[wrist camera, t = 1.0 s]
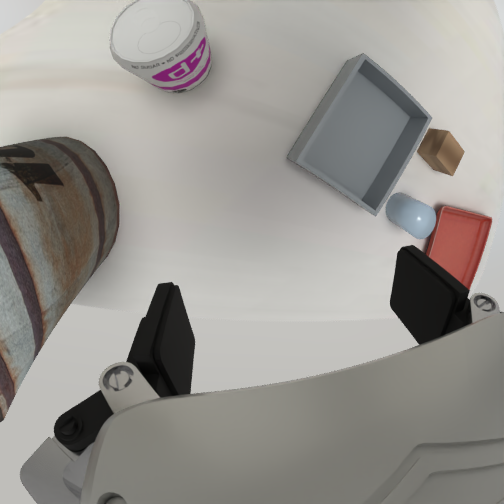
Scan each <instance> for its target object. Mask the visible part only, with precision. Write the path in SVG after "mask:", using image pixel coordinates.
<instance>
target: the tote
mask: <svg viewBox="0 0 504 504" xmlns="http://www.w3.org/2000/svg"><path fill="white" fill-rule="evenodd" d="M431 119H432V117H431V116H430V115H429V113H428V112H427V111H426V110H425V109H424V108H423V107H422V106H421V105H420V104H419V103H418V102H417V101H416V100H415V99H414V98H413V97H412V96H411V95H410V94H409V93H408V92H407V91H406V90H405V89H404V88H403V87H402V86H401V85H400V84H399V83H398V82H397V81H396V80H395V79H394V78H393V77H391V76H390V75H389V74H388V73H387V72H386V71H385V70H383V69H382V68H381V67H380V66H379V65H378V64H376V63H375V62H374V61H373V60H371V59H370V58H369V57H368V56H366V55H365V54H364V53H362V54H360V55H358V56H356V57H354V58H352V59H350V60H348V61H347V62H346V64H345V65H344V67H343V68H342V70H341V71H340V73H339V74H338V76H337V78H336V79H335V81H334V82H333V84H332V85H331V87H330V89H329V90H328V92H327V93H326V95H325V96H324V98H323V100H322V101H321V103H320V104H319V106H318V108H317V109H316V111H315V112H314V114H313V116H312V117H311V119H310V120H309V122H308V124H307V125H306V127H305V128H304V130H303V132H302V133H301V135H300V137H299V138H298V140H297V141H296V143H295V145H294V146H293V148H292V150H291V151H290V153H289V154H288V156H287V158H288V159H289V160H291V161H293V162H294V163H296V164H297V165H299V166H301V167H302V168H304V169H305V170H307V171H309V172H310V173H312V174H313V175H315V176H316V177H318V178H320V179H321V180H323V181H324V182H326V183H327V184H329V185H330V186H332V187H333V188H335V189H336V190H338V191H339V192H340V193H342V194H343V195H345V196H346V197H348V198H349V199H350V200H352V201H353V202H355V203H356V204H358V205H359V206H360V207H362V208H363V209H365V210H366V211H368V212H370V213H371V214H373V215H374V216H376V215H377V214H378V212H379V211H380V209H381V208H382V206H383V204H384V203H385V201H386V200H387V198H388V196H389V195H390V193H391V192H392V190H393V188H394V187H395V185H396V183H397V182H398V180H399V178H400V176H401V175H402V173H403V171H404V170H405V168H406V166H407V164H408V163H409V161H410V159H411V157H412V155H413V154H414V152H415V150H416V148H417V146H418V145H419V143H420V141H421V139H422V137H423V135H424V133H425V131H426V129H427V127H428V125H429V123H430V121H431Z"/></svg>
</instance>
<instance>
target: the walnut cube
mask: <svg viewBox="0 0 504 504" xmlns="http://www.w3.org/2000/svg"><path fill="white" fill-rule="evenodd" d="M417 153H418V154H419V155H420V156H421V157H422V158H423V159H424V160H425V161H426V162H427V163H428V164H429V165H430V166H431V167H432V169H433V170H436V171H439V172H442V173H445V174H448V175H451V176H453V175H454V173H455V171H456V169H457V167H458V165H459V163H460V161H461V158H462V156H463V154H464V150H463V149H462V148H461V146H460V145H459V143H458V142H457V141H456V140H455V138H454V137H453V136H452V134H451V133H450V132H449V131H445V130H438V129H430V128H429V129H428V131H427V133H426V135H425V137H424V139H423V141H422V143H421V145H420V147H419V148H418V150H417Z"/></svg>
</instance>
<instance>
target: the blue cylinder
mask: <svg viewBox="0 0 504 504" xmlns="http://www.w3.org/2000/svg"><path fill="white" fill-rule="evenodd" d="M386 215H387V217H388V219H389V220H390V221H392V222H393V223H395V224H396V225H398V226H399V227H401V228H402V229H404V230H405V231H406V232H408V233H409V234H411V235H412V236H414V237H415V238H417V239H424V238H426V237H428V236H429V235H430V234H431V232H432V231H433V229H434V227H435V224H436V214H435V211H434V209H433V208H432V207H430V206H428V205H426V204H424V203H422V202H420V201H418V200H416V199H414V198H412V197H410V196H408V195H406V194H403V193H396V194H394V195H392V196H391V197H390V199H389V200H388V202H387V205H386Z"/></svg>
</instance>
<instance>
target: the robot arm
mask: <svg viewBox="0 0 504 504" xmlns="http://www.w3.org/2000/svg"><path fill="white" fill-rule="evenodd" d="M469 291H470V290H469V289H468V288H467V287H465V286H464V285H463V284H462V283H461V282H460V281H458V280H457V279H456V278H455V277H454V276H452V275H451V274H450V273H449V272H447V271H446V270H445V269H444V268H443V267H441V266H440V265H439V264H437V263H436V262H435V261H434V260H432V259H431V258H430V257H428V256H427V255H426V254H425V253H423V252H422V251H421V250H419V249H418V248H417V247H415V246H413V245H411V246H405V247H402V248H401V249H400V251H398V253H397V260H396V268H395V274H394V281H393V287H392V293H391V298H390V306H391V309H392V310H393V311H394V312H395V314H396V315H397V316H398V318H399V319H400V320H401V321H402V323H403V324H404V325H405V326H406V328H407V329H408V330H409V332H410V333H411V334H412V335H413V337H414V338H415V340H416V341H417V342H418V344H419V345H418V346H415V347H413V348H410V349H407V350H404V351H401V352H398V353H396V354H392V355H389V356H386V357H383V358H380V359H377V360H373V361H370V362H367V363H363V364H359V365H356V366H352V367H349V368H345V369H341V370H337V371H333V372H329V373H324V374H320V375H316V376H311V377H307V378H301V379H297V380H291V381H286V382H281V383H275V384H269V385H262V386H255V387H248V388H241V389H233V390H224V391H215V392H206V393H196V394H190V392H191V380H192V369H193V358H194V349H195V338H194V334H193V332H192V328H191V325H190V322H189V319H188V316H187V312H186V309H185V306H184V303H183V299H182V296H181V292H180V289H179V286H178V285H174V284H173V283H172V282H169V283H161V284H158V286H157V288H156V291H155V293H154V296H153V299H152V301H151V304H150V306H149V309H148V312H147V315H146V317H144V318H142V320H141V322H140V324H139V327H138V330H137V333H136V336H135V338H134V341H133V344H132V347H131V350H130V352H129V355H128V358H127V361H126V362H119V363H115V364H113V365H110V366H109V367H108V368H106V369H105V370H104V371H103V372H102V374H101V376H100V378H99V386H100V389H101V390H100V391H98V392H96V393H95V394H93V395H92V396H90V397H89V398H87V399H86V400H84V401H82V402H81V403H80V404H78V405H76V406H75V407H73V408H71V409H70V410H68V411H67V412H65V413H64V414H62V415H61V416H60V417H59V418H58V419H57V421H56V423H55V426H54V433H55V436H54V437H53V438H52V439H51V438H50V437H48V438H47V439H46V440H45V441H44V442H43V444H42V445H41V446H40V447H39V448H38V449H37V450H36V451H35V452H34V454H33V455H32V456H31V457H30V458H29V459H28V460H27V461H26V462H25V463H24V465H23V466H22V468H21V471H20V479H21V481H22V484H23V485H24V486H25V488H26V490H27V491H28V492H29V494H30V495H31V496H32V497H33V499H34V500H35V501H36V503H37V504H504V313H503V312H500V310H499V306H498V303H497V302H496V300H495V299H494V298H492V297H491V296H489V295H487V294H483V293H475V294H474V295H472V296H471V298H470V300H469V299H468V298H467V297H468V294H469Z"/></svg>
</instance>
